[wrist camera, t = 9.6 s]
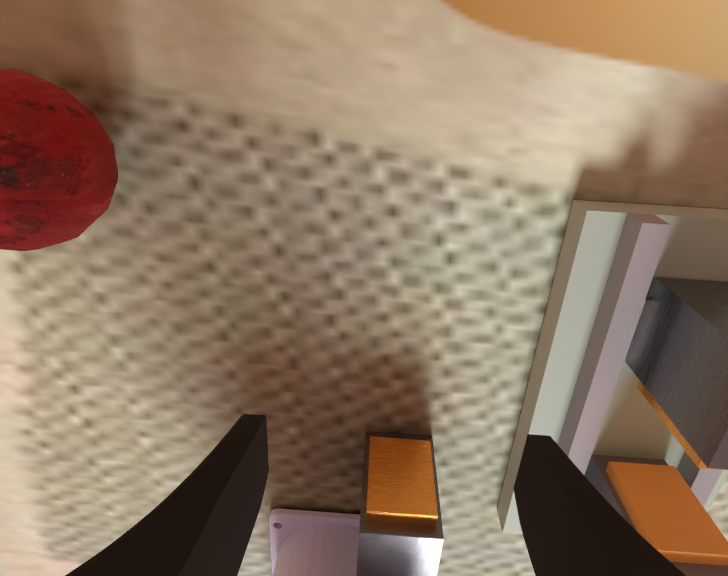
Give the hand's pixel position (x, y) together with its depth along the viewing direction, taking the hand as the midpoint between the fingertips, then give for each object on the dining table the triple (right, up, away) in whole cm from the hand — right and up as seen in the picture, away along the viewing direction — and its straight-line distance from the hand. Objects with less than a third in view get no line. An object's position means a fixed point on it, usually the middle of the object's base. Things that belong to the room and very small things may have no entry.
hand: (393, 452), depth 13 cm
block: (+1, -5, +13) cm, 14 cm away
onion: (-12, +10, +6) cm, 17 cm away
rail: (+12, 0, +10) cm, 16 cm away
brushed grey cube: (+12, +3, +7) cm, 14 cm away
